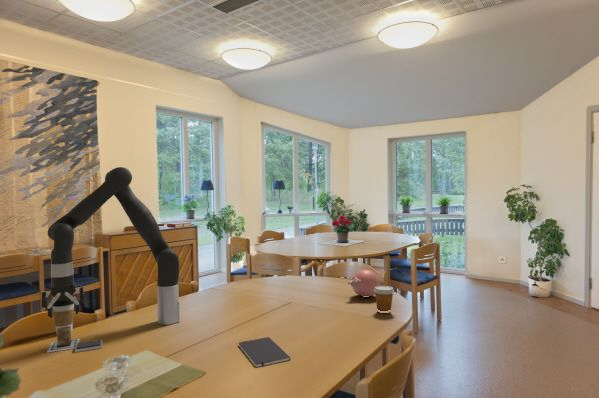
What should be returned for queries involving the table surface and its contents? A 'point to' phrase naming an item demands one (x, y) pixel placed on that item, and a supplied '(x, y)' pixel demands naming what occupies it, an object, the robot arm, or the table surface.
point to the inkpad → (88, 345)
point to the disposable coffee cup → (383, 297)
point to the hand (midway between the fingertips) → (64, 315)
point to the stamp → (64, 337)
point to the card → (54, 347)
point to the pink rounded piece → (364, 283)
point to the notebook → (263, 351)
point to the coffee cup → (63, 313)
